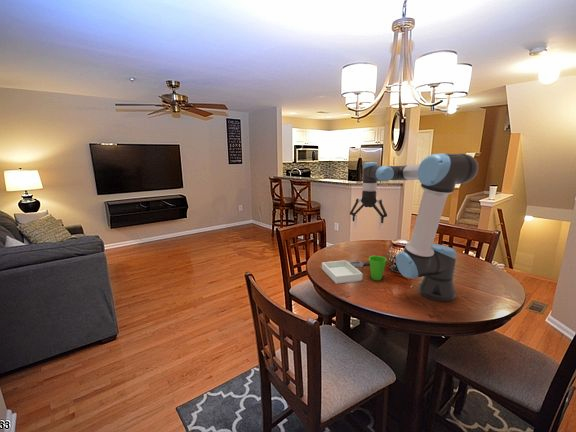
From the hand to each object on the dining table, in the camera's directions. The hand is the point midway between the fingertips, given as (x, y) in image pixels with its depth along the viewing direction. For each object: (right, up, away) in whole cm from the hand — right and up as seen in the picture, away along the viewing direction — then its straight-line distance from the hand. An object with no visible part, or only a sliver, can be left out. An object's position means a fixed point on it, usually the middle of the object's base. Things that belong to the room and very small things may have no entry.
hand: (367, 227), depth 161 cm
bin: (-16, -25, -7) cm, 31 cm away
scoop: (-2, -23, +5) cm, 23 cm away
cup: (+1, -26, -12) cm, 29 cm away
